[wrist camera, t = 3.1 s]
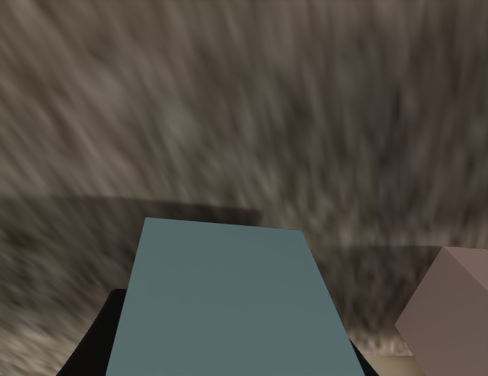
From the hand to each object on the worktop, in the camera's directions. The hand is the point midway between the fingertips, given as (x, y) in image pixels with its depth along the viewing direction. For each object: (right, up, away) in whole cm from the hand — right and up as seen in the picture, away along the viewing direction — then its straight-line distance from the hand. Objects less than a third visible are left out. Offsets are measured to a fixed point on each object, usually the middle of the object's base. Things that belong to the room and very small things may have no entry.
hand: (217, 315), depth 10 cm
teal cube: (0, +1, +1) cm, 1 cm away
